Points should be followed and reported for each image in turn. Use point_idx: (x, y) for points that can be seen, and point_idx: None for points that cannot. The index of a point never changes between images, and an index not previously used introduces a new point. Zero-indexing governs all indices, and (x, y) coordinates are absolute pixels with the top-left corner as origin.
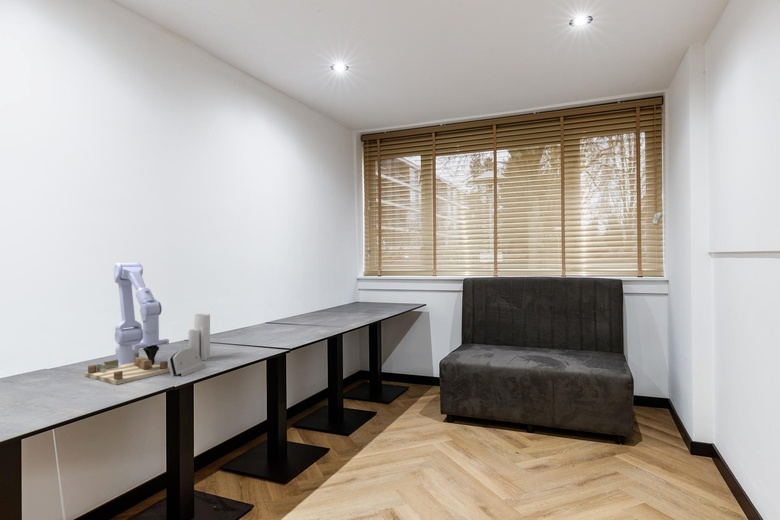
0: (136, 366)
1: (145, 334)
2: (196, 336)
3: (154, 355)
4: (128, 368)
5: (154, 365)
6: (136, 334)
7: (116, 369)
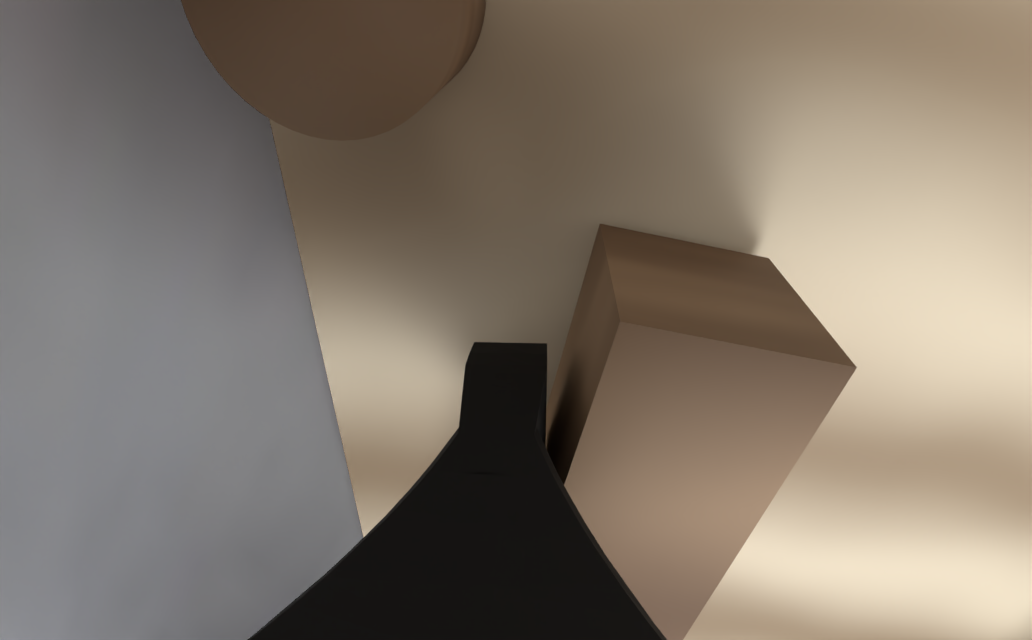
0: None
1: None
2: None
3: (450, 498)
4: (763, 564)
5: (396, 422)
6: None
7: (877, 628)
